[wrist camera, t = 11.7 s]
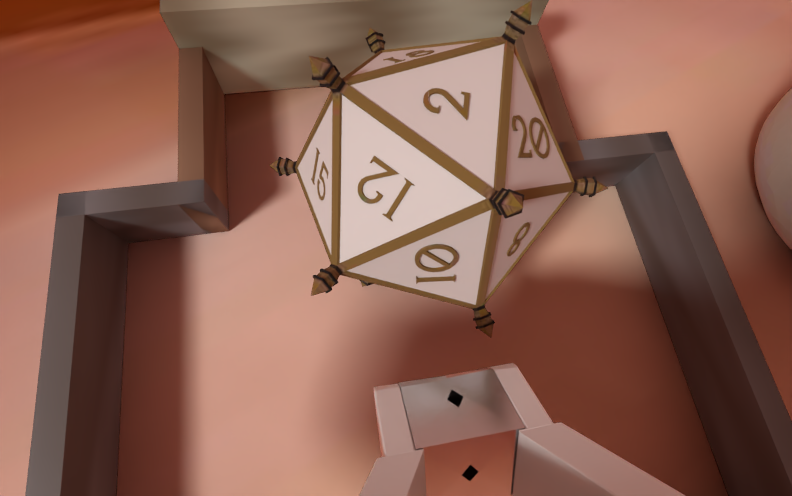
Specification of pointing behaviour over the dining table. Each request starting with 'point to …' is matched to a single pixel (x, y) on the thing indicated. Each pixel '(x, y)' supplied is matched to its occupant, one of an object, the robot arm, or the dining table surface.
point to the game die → (433, 168)
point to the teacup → (776, 167)
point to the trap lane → (208, 213)
